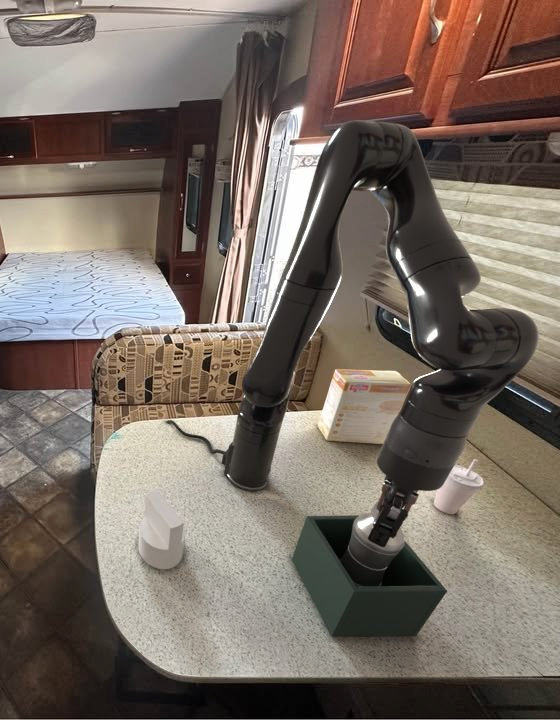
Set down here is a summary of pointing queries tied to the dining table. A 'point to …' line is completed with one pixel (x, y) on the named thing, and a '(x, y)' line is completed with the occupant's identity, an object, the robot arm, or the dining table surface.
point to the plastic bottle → (369, 552)
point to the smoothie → (458, 488)
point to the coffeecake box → (362, 405)
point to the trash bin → (363, 603)
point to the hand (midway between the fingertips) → (379, 528)
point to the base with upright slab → (161, 533)
